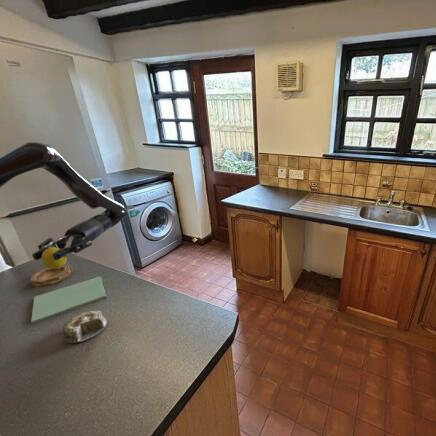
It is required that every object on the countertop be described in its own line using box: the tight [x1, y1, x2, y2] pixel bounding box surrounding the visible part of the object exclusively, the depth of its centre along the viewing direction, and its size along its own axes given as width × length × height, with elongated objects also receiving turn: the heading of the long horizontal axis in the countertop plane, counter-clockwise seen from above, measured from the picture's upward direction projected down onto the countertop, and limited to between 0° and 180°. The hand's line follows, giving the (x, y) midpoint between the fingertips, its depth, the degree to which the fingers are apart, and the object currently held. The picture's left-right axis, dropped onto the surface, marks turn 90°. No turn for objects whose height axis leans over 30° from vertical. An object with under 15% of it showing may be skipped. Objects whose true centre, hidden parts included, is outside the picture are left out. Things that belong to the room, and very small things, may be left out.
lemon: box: [41, 246, 68, 269], centre depth 77 cm, size 6×6×8 cm
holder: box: [30, 264, 72, 287], centre depth 92 cm, size 11×11×2 cm
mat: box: [30, 275, 107, 324], centre depth 82 cm, size 18×14×1 cm
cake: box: [62, 310, 108, 344], centre depth 69 cm, size 10×10×5 cm
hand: (45, 257), depth 74 cm, fingers closed on lemon, 5 cm apart
